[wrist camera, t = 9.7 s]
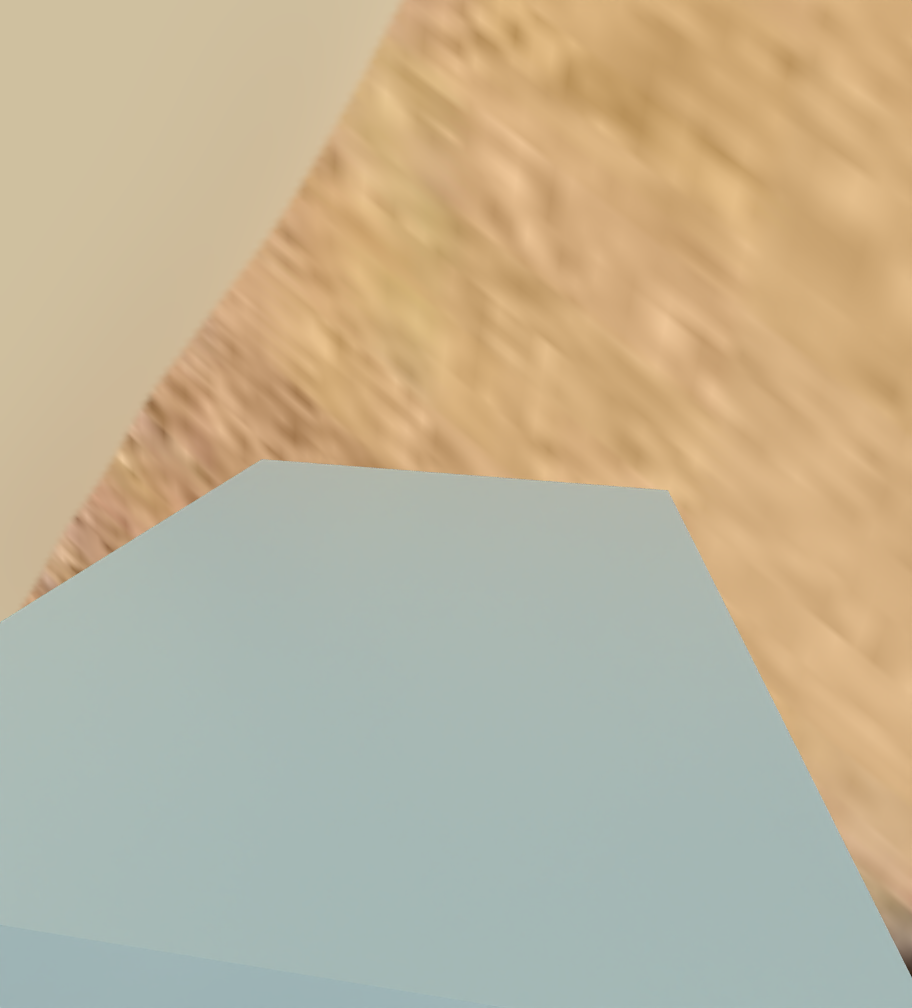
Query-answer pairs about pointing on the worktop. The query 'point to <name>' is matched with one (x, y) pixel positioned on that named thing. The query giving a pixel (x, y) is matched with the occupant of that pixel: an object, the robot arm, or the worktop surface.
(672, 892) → the light blue block
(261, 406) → the worktop surface
